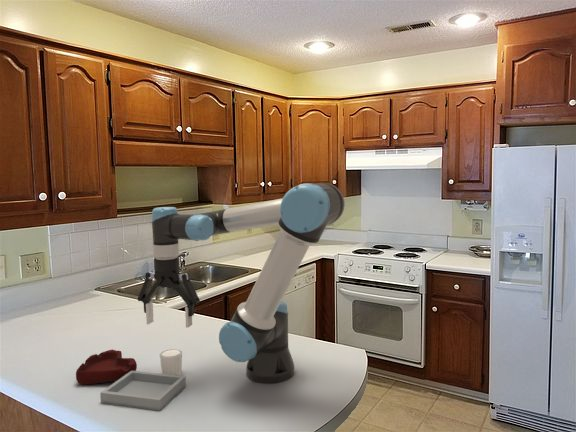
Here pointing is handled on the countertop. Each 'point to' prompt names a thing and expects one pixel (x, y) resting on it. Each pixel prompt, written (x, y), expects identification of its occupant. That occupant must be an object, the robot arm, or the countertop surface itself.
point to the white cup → (171, 362)
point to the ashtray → (104, 368)
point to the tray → (143, 390)
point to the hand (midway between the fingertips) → (169, 324)
